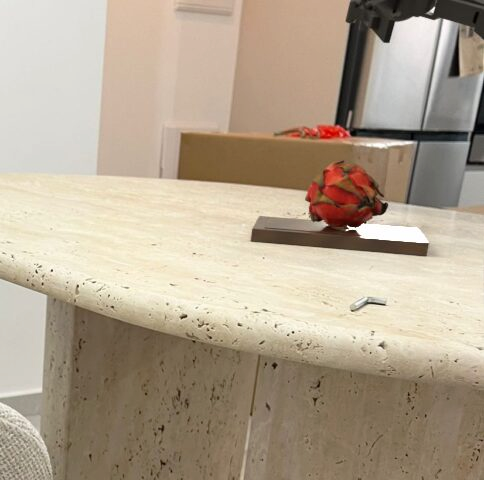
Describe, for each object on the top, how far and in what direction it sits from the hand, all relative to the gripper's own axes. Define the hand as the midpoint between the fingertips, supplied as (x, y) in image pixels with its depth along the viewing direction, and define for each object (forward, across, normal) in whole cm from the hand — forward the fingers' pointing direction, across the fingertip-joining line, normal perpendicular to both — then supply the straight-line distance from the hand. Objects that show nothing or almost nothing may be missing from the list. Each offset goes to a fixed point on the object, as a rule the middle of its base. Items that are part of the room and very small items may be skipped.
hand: (444, 33), depth 117 cm
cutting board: (+16, +12, -20) cm, 29 cm away
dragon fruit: (+16, +12, -19) cm, 28 cm away
